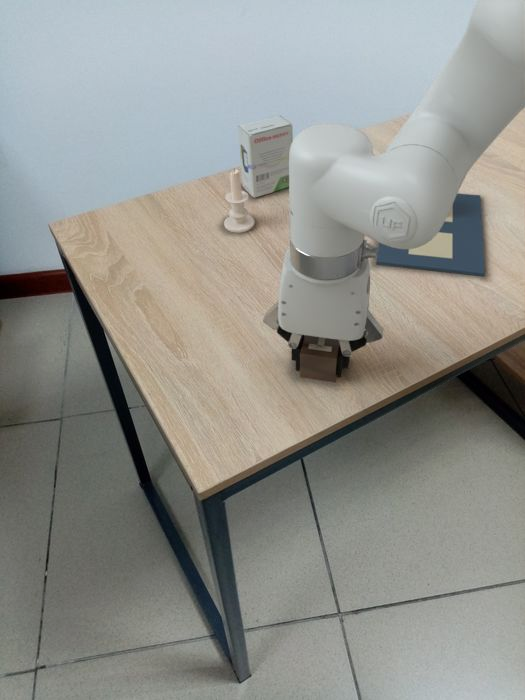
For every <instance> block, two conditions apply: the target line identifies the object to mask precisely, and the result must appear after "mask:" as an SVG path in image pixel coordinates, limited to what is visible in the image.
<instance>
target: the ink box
mask: <svg viewBox="0 0 525 700" xmlns="http://www.w3.org/2000/svg"><path fill="white" fill-rule="evenodd" d="M237 130H238V131H237V132H238V142H239V143H238V144H239V153H240V155H239V156H240V167H241V169H240V170H241V181H242V183H241V184H242V188H244V189H245V191H246V192H247V193H248V195H250V196H251V197H253V198H254V199H255V198H258V197H261V196H265V195H268V194H271V193H274V192H278V191H282V190H284V189H289V151H290V147H291V144H292V142H293V140H294V138H293V137H294V135H293V123H291V121H289V120H288V119H286V118H285V117H283V116H282V115H276V116H271V117H267V118H263V119H259V120H255V121H251V122H246V123H242V124H239V125H238V126H237Z"/></svg>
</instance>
